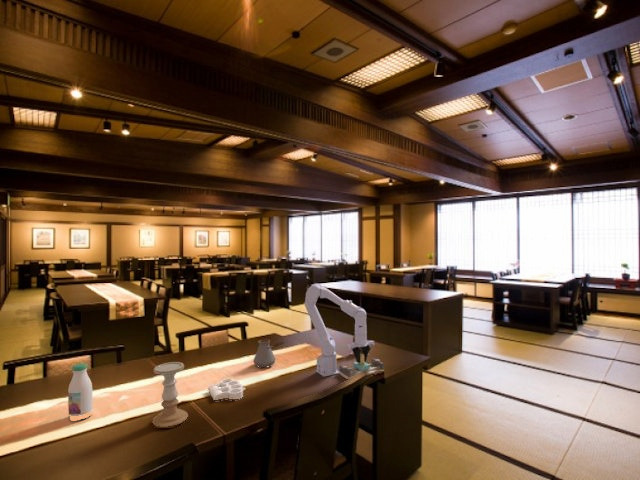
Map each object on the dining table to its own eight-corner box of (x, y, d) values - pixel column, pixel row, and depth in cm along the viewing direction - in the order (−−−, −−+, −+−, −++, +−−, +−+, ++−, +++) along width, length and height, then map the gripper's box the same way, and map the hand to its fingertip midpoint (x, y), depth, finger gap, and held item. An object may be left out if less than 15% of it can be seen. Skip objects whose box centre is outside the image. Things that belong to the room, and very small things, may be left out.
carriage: (361, 370, 173) (360, 356, 173) (353, 366, 179) (352, 352, 179) (369, 368, 175) (369, 355, 175) (361, 364, 182) (361, 351, 182)
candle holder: (146, 421, 134) (145, 367, 134) (179, 409, 143) (178, 358, 143) (159, 433, 126) (158, 375, 125) (193, 420, 134) (192, 366, 134)
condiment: (358, 351, 212) (358, 330, 212) (369, 354, 206) (368, 333, 205) (349, 353, 207) (349, 332, 207) (360, 357, 201) (359, 335, 201)
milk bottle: (88, 410, 144) (87, 360, 144) (96, 416, 139) (94, 364, 139) (65, 418, 138) (64, 365, 138) (72, 424, 133) (71, 370, 133)
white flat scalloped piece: (205, 390, 162) (237, 383, 169) (216, 406, 146) (250, 397, 154) (205, 383, 162) (237, 376, 169) (215, 398, 146) (250, 389, 154)
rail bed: (347, 380, 169) (347, 370, 168) (338, 374, 177) (337, 364, 176) (385, 372, 178) (384, 362, 178) (374, 366, 186) (374, 357, 186)
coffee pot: (249, 366, 190) (248, 337, 190) (265, 360, 199) (265, 333, 199) (276, 375, 176) (276, 344, 176) (293, 368, 185) (292, 339, 185)
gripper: (352, 338, 170) (353, 366, 170) (377, 333, 177) (378, 361, 177) (344, 334, 177) (345, 362, 177) (369, 330, 183) (369, 357, 183)
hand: (361, 361), depth 177 cm, fingers closed on carriage, 3 cm apart
